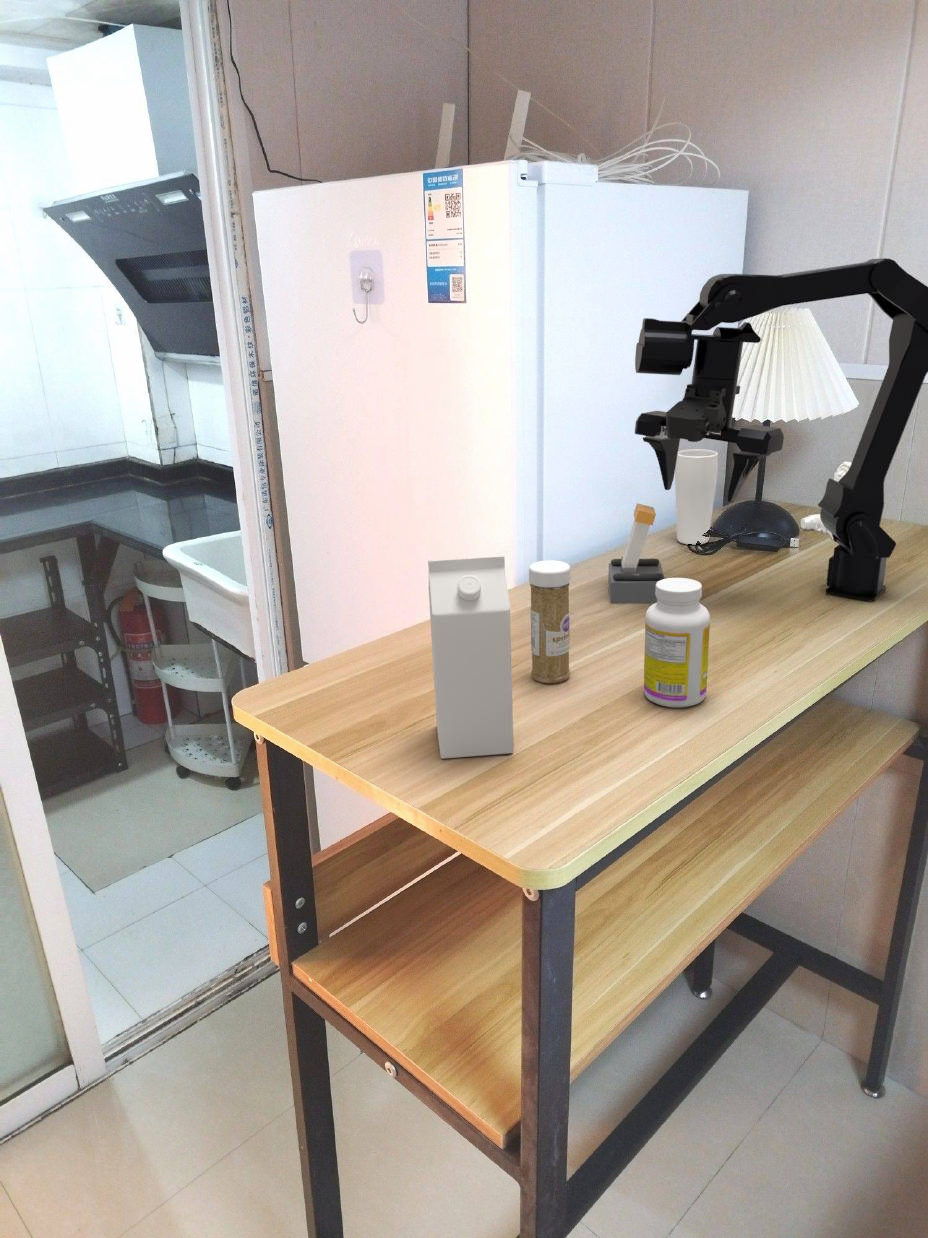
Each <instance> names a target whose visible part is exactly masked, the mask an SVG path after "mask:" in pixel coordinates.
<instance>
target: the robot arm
mask: <svg viewBox="0 0 928 1238" xmlns="http://www.w3.org/2000/svg"><path fill="white" fill-rule="evenodd" d="M699 292H700V293H699V300H698V301H697V303H695V305H694V306H693V307H692V308H691V309H690V310H689V311H688V313H686V315H685V316H684V317H683V319H682V320H681V321H677V320H674V321H673V320H659V319H657V318H651V317H647V318H646V317H645V318H643V319H642V324H641V325H642V326H641V329H640V332H639V337H638V342H636V346H635V357H634V358H635V359H634V369H635V374H645V375H646V374H649V375H667V376H681V374H682V373H683V370H687V369H689V368H691V366H692V362H693V361H694V363H693V370H692V377H691V383H690V384H689V383H688V384H686V388H685V391H684V396H683V398H682V400H680V401H678V402H677V403H676V404H674V405H673V406H672V407H671V408H670V409H668V410H667V411H663V410H653V411H648V412H641V414H639V416H637V419H636V421H635V426H634V427H635V428H634V434H635V435H637V436H638V435H639V436H644V437H642V440H643V442H644V443H647V444H649V445H650V447H651V448H652V449H653V450H654V452H655V456H656V458H657V462H658V465H659V469H660V475H661V478H662V483H663V488H664V490H665V491H669V490H671V489H672V485H673V482H674V480H675V467H676V461H677V455H678V452H679V447H680V443H681V442H680V441H681V440H686V441H688V442H691V443H697V442H701V441H702V440H704V439H708V440H713V441H719V442H720V441H721V442H726V443H727V442H728V443H733V444H736V446H737V447H738V448H739V450H738V451H735V452H733V453H732V457H733V468H732V472H731V477H730V482H729V486H728V491H727V503H733V502H734V501H735V499H736V497H737V495H738V494H739V492H740V490H742V487H743V485H744V484H745V483H746V480H747V479H748V477H749V476H750V474H751V472H752V471H753V470H754V468H755V467H756V466H757V464H758V463H759V462H760V460H761V459H762V458H765V457H769V456H771V454H773V453H776V452H780V451H782V449H783V445H784V439H785V437H784V433H783V430H782V428H780V427H776V426H775V427H774V426H767V425H760V424H753V425H749V426H743V427H741V428H735V427H734V426H735V425H736V417H733V413H734V406H735V400H736V395H740V392H741V385H738V379H739V373H740V369H741V367H740V366H741V360H742V354H743V353H742V352H743V346H744V343H751V344H753V343H754V344H759V343H760V342H761V340H762V338H761V336H759V335H758V334H757V332H756V331H755V330H754V328H753V326H752V324H751V322H747V321H745V322H743V323H742V324H741V325H740V326H739V327H726V326H725V327H724V326H723V327H722V326H718V325H720V324H722V323H723V324H724V323H725V324H734V323H737V322H741V321H744V320H746V319H750V318H754V317H756V316H759V315H761V314H765V313H767V312H769V311H771V310H774V309H777V308H781V307H782V306H790V305H797V304H805V303H811V302H816V301H817V302H818V301H823V300H831V299H832V300H833V299H836V298H837V299H838V298H839V299H840V298H844V297H851V296H859V295H865V294H867V295H869V297H870V298H871V299H872V300H873V302H874V303H875V304H876V305H877V307H878V308H879V309H880V310H881V311H882V312H883V313H884V314H885V315H887V317H888V318H889V319H891V321H892V323H891V328H890V333H889V338H888V365H887V369H886V372H885V374H884V377H883V379H882V382H881V385H880V387H879V390H878V392H877V395H876V397H875V401H874V403H873V406H872V409H871V411H870V414H869V417H868V419H867V422H866V423H865V427H864V429H863V433H862V435H861V438H860V441H858V442H859V443H858V445H857V448H856V451H855V453H854V456H853V459H852V462H851V463H852V464H851V466H850V468H849V470H848V471H847V473H846V474H845V475H844V476H843V477H842V478H841V479H840V480H839V481H835V480H834V478H829V479H828V481H827V483H826V486H825V492H824V495H823V497H822V498H821V500H820V502H818V504H817V506H818V507H819V508H820V509H821V510H820V513H819V514H820V519H821V521H822V523H823V525H824V527H825V528H826V529H828V530H829V531H830V532H831V533H832V537H833V542H835V543H837V544H838V545H837V546H836V547H834V548H833V555H831V557H829V558H828V565H827V574H826V583H825V584H826V586H827V588H826V589H825V594H827V595H832V596H839V597H845V598H851V599H857V600H860V601H861V600H863V601H867V602H868V601H869V602H874V601H875V600H877V599H878V598H879V597H880V596H881V595H882V594H883V593H884V592H885V591H886V589H887V585H886V584H884V582H885V581H884V580H885V574H886V573H885V572H886V566H887V559H888V558H890V557H891V555H892V554H893V552H894V550H895V547H896V545H897V542H896V541H895V540H894V539H893V538H892V537H891V536H890V535H889V534H888V533H887V531H885V530H884V529H883V528H882V527H881V521H882V516H883V513H884V508H885V479H886V477H887V474H888V472H889V470H890V467H891V464H892V461H893V459H894V456H895V454H896V452H897V449H898V447H899V444H900V441H901V439H902V437H903V434H904V431H905V429H906V426H907V423H908V421H909V419H910V416H911V414H912V411H913V409H914V407H915V404H916V402H917V399H918V396H919V393H920V390H921V389H922V385H923V383H924V381H925V378H926V375H927V374H928V286H927V285H926V284H925V283H923V282H922V281H920V280H919V279H917V278H916V277H914V276H913V275H911V274H909V273H908V272H907V271H906V270H905V269H903V267H902V266H900V265H899V264H898V262H896V261H895V260H893V259H891V258H883V257H881V258H872V259H868V260H865V261H864V262H856V263H852V264H851V263H850V264H844V265H839V266H838V265H837V266H832V267H831V266H830V267H823V268H817V269H811V270H804V271H797V272H790V273H785V274H783V273H782V274H775V275H774V274H773V275H772V274H749V273H748V274H744V273H743V274H742V273H720V274H716V275H714V276H712V277H710V278H709V279H708V280H707V281H706V282H705V284H703V286H702V288H701V291H699ZM716 326H717V327H716ZM713 328H714V330H713V333H712V334H698V333H696V334H695V333H694V334H693V331H704V332H705V331H710V330H711V329H713ZM695 340H696V348H695ZM694 348H695V349H694ZM694 351H695V352H694ZM693 359H694V360H693Z"/></svg>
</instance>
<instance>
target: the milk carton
mask: <svg viewBox="0 0 928 1238" xmlns="http://www.w3.org/2000/svg"><path fill="white" fill-rule="evenodd" d="M427 563H428V564H427V565H428V566H427V567H428V598H429V599H428V600H429V613H430V614H429V617H430V620H429V621H430V632H431V634H430V635H431V636H430V637H431V652H432V667H433V669H432V670H433V671H432V672H433V686H434V703H435V705H434V707H435V719H436V722H435V723H436V728H437V729H436V730H437V739H438V746H439V755H440V758H441V759H453V758H454V759H455V758H466V757H467V758H468V757H479V756H480V757H481V756H493V755H505V754H507V755H508V754H513V753H514V720H513V719H514V718H513V717H514V715H513V711H514V710H513V678H512V676H513V675H512V674H513V673H512V672H513V671H512V669H513V668H512V639H511V638H512V637H511V636H512V635H511V633H512V632H511V628H512V627H511V626H512V625H511V605H510V597H509V589H508V581H507V576H506V575H507V574H506V569H505V568H506V567H505V566H506V565H505V563H506V561H505V556H504V555H497V556H496V555H495V556H481V557H465V558H464V557H463V558H451V559H450V558H449V559H436V560H434V559H433V560H428V562H427Z"/></svg>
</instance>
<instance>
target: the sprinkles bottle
mask: <svg viewBox="0 0 928 1238" xmlns="http://www.w3.org/2000/svg"><path fill="white" fill-rule="evenodd" d="M528 582H529V583H530V584H529V586H530V610H529V611H530V651H531V672H530V675H531V677H532V678H533V680H534V681H536V682H539V683H545V684H557V683H561V682H564V681H566V680H567V679H569V678H570V676H571V671H570V648H571V647H570V646H571V645H570V643H571V642H570V639H571V638H570V633H571V632H570V602H569V601H570V599H569V597H570V582H571V566H570V564H568V563H567V562H564V561H560V560H553V559H552V560H539V561H537V562H536V561H535V562H533V563H531V564H530V565H529V568H528Z"/></svg>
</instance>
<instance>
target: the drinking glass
mask: <svg viewBox="0 0 928 1238" xmlns="http://www.w3.org/2000/svg"><path fill="white" fill-rule="evenodd" d="M718 468H719V453H718V452H717V451H715V450H709V449H697V448H696V449H684V450H678V455H677V461H676V467H675V473H674V486H675V487H674V488H675V510H676V513H675V514H676V540H677V542H679V543H680V544H684V545H688V544H692V545H691V546H697V545H696V543H697V541H699V542H700V543H701V544H700V545H704V544H706V543H708V542H709V540H710V536H709V537H705V536H702V535H703V534H704V533H706V532H707V531H708V530H709V529H710V530H711V523H712V516H713V509H714V503H715V502H714V501H715V495H716V488H717V481H718V472H719V469H718ZM688 546H689V545H688Z"/></svg>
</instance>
